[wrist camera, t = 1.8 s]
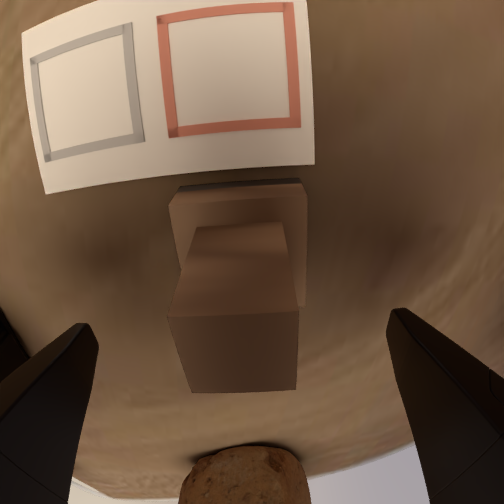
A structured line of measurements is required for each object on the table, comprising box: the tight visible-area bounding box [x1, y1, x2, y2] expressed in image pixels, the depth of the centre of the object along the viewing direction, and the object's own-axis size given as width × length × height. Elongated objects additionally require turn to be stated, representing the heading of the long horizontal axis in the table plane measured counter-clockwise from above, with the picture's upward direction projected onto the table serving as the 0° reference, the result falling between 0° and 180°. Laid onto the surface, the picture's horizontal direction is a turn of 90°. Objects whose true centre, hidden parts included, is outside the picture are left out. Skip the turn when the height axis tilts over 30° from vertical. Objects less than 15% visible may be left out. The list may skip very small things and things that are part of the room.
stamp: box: [167, 178, 307, 393], centre depth 11 cm, size 5×5×7 cm
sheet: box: [22, 0, 315, 194], centre depth 10 cm, size 12×8×1 cm, turn 94°
